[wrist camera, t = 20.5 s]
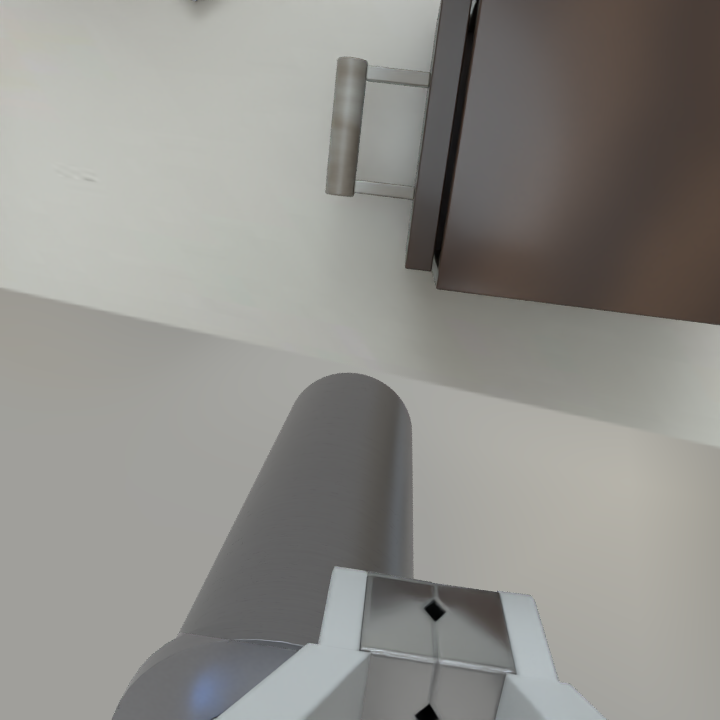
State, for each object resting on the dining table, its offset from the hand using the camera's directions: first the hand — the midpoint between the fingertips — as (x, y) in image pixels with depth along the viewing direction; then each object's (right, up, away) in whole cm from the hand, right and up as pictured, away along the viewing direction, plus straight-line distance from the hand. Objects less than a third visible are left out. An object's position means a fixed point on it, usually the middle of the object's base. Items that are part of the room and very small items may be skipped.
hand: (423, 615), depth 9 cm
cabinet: (+11, +15, +23) cm, 29 cm away
